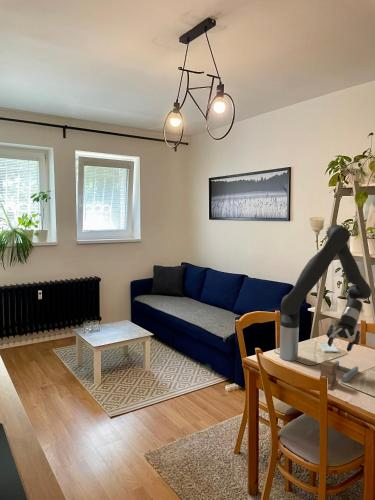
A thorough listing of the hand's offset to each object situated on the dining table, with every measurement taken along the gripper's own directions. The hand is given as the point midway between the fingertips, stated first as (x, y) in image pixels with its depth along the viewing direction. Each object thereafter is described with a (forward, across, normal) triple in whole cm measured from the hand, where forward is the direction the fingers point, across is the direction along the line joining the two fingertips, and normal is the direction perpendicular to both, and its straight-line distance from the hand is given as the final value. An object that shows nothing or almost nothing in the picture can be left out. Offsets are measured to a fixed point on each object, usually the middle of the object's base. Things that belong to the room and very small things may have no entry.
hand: (338, 348), depth 170 cm
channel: (+7, 0, +12) cm, 14 cm away
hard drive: (-12, -18, +32) cm, 39 cm away
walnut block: (+18, 0, +2) cm, 18 cm away
